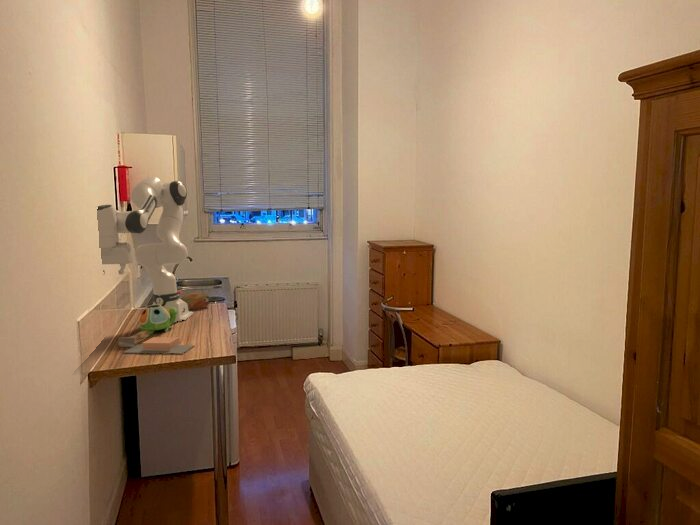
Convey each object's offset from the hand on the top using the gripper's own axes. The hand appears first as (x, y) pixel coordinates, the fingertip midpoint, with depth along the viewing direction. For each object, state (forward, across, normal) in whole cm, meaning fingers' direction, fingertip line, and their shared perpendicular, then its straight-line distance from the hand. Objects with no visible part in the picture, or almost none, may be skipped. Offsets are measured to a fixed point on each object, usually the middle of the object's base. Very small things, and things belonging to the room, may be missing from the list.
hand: (111, 274), depth 229 cm
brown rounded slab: (+29, -8, -57) cm, 65 cm away
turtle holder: (+29, -11, -14) cm, 34 cm away
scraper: (+29, -11, +3) cm, 31 cm away
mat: (+29, -28, +14) cm, 43 cm away
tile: (+27, -28, +8) cm, 40 cm away
